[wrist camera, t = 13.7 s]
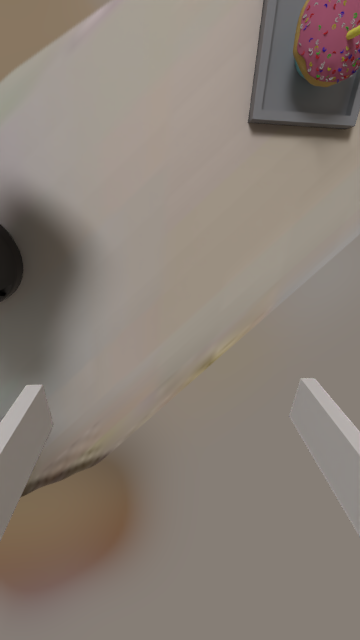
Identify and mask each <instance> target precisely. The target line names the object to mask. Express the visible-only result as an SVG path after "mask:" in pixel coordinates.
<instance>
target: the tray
mask: <svg viewBox="0 0 360 640" xmlns="http://www.w3.org/2000/svg"><path fill="white" fill-rule="evenodd" d="M306 1H307V0H264V1H263V9H262V17H261V25H260V32H259V40H258V48H257V56H256V64H255V72H254V80H253V88H252V96H251V103H250V111H249V119H248V122H249V123H264V124H279V125H294V126H308V127H323V128H338V129H348V128H350V127H353V126H355V124H356V120H357V117H358V113H359V109H360V67H359V68H358V69H357V70H356V72H355V73H354V74H352V76H351V77H349V78H348V79H346V80H342V81H340V82H339V83H336V84H334V85H331V86H329V87H321V86H314V85H312V84H310V83H309V82H308V81H307V80H306V79H304V78H303V77H301V76H300V75H299V73H298V72H297V69H296V66H295V58H294V55H293V46H294V39H295V33H296V28H297V23H298V19H299V16H300V13H301V10H302V8H303V6H304V4H305V2H306Z"/></svg>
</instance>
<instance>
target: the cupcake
mask: <svg viewBox="0 0 360 640" xmlns="http://www.w3.org/2000/svg"><path fill="white" fill-rule="evenodd" d="M293 55H294V58H295V66H296V69H297V72H298V73H299V75H300V76H301V77H303V78H304V79H306V80H307V81H308V82H309V83H310V84H312V85H314V86H321V87H329V86H331V85H334V84H336V83H339V82H340V81H342V80H346V79H348V78H349V77H351V76H352V74H354V73H355V72H356V70H357V69H358V68H359V67H360V0H307V1H306V2H305V4H304V6H303V8H302V10H301V13H300V16H299V19H298V23H297V28H296V33H295V39H294V46H293Z"/></svg>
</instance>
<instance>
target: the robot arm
mask: <svg viewBox="0 0 360 640" xmlns="http://www.w3.org/2000/svg"><path fill="white" fill-rule="evenodd" d="M22 273H23V265H22V259H21V255H20V252H19V250H18V248H17V246H16V244H15V242H14V240H13V239H12V237H11V236H10V235H9V233H8V232H7V231H6V230H5V229H4V228H3V227H2V226H1V225H0V302H1V301H3V300H4V299H6V298H7V297H9V296H10V295H11V294H12V293H13V292H14V291H15V290H16V289H17V288H18V286H19V284H20V282H21V279H22ZM289 417H290V419H291V421H292V422H293V424H294V426H295V427H296V429H297V431H298V432H299V434H300V436H301V438H302V439H303V441H304V442H305V444H306V446H307V448H308V450H309V451H310V453H311V454H312V456H313V458H314V460H315V462H316V463H317V465H318V467H319V468H320V470H321V472H322V474H323V475H324V477H325V479H326V480H327V482H328V484H329V486H330V487H331V489H332V491H333V492H334V494H335V496H336V497H337V499H338V501H339V503H340V504H341V506H342V508H343V509H344V511H345V513H346V514H347V516H348V518H349V520H350V521H351V523H352V525H353V526H354V528H355V530H356V532H357V533H358V535H359V537H360V431H359V430H358V429H357V428H356V427H355V426H354V424H353V423H352V422H351V421H350V420H349V418H347V416H346V415H345V414H344V413H343V412H342V410H341V409H340V408H339V407H338V405H337V404H336V403H335V402H334V401H333V399H331V397H330V396H329V395H328V394H327V392H326V391H325V390H324V389H323V388H322V387H321V385H320V384H319V383H318V382H317V381H316V379H315V378H301V379H300V383H299V386H298V389H297V392H296V395H295V399H294V402H293V405H292V408H291V411H290V415H289ZM52 427H53V421H52V417H51V413H50V410H49V406H48V402H47V399H46V395H45V391H44V387H43V385H26V386H25V388H24V389H23V390H22V392H21V393H20V395H19V396H18V398H17V399H16V401H15V402H14V403H13V405H12V406H11V408H10V409H9V411H8V412H7V413H6V415H5V416H4V418H3V419H2V421H1V422H0V540H1V538H2V536H3V534H4V532H5V530H6V527H7V525H8V523H9V521H10V518H11V516H12V514H13V512H14V510H15V508H16V505H17V503H18V501H19V499H20V497H21V495H22V492H23V490H24V488H25V486H26V484H27V482H28V479H29V477H30V475H31V473H32V471H33V468H34V466H35V464H36V462H37V460H38V458H39V455H40V453H41V451H42V449H43V447H44V444H45V442H46V440H47V438H48V436H49V434H50V431H51V429H52Z"/></svg>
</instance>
